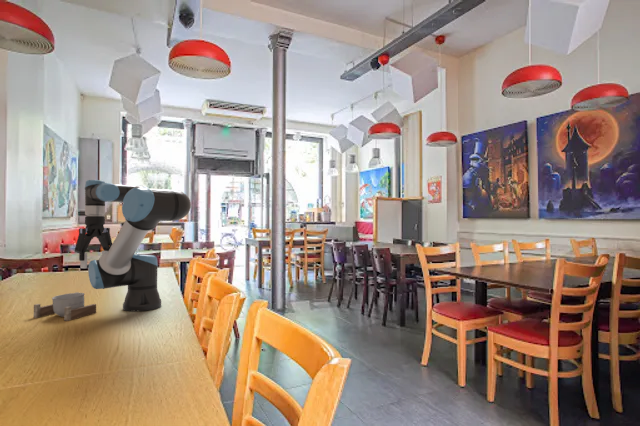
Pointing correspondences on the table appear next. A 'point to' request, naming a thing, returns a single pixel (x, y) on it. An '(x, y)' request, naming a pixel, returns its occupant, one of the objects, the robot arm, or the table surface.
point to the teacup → (67, 302)
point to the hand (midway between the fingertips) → (94, 266)
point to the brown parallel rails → (65, 311)
